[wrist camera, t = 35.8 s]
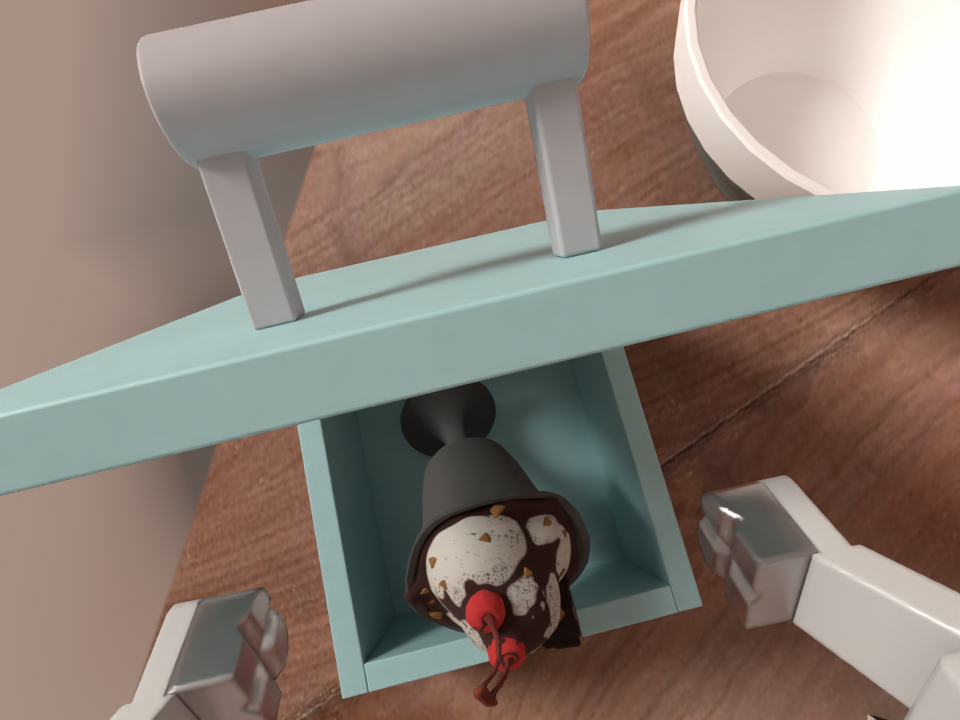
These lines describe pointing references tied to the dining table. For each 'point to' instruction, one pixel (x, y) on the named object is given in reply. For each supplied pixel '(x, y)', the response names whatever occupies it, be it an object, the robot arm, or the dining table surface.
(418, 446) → the sundae
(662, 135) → the dining table surface
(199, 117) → the lid
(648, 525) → the teal wooden box
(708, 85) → the bowl
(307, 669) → the dining table surface
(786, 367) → the dining table surface
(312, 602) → the dining table surface
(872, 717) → the ice cream box
